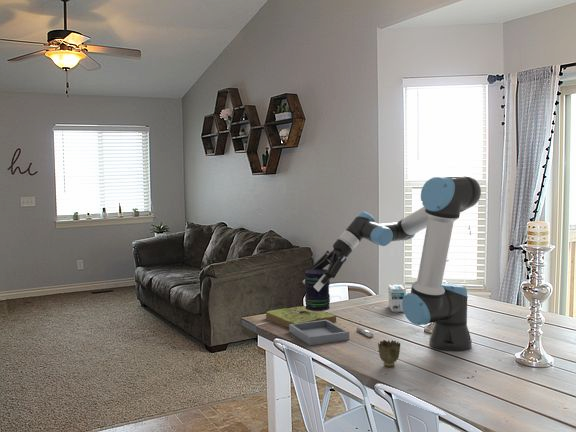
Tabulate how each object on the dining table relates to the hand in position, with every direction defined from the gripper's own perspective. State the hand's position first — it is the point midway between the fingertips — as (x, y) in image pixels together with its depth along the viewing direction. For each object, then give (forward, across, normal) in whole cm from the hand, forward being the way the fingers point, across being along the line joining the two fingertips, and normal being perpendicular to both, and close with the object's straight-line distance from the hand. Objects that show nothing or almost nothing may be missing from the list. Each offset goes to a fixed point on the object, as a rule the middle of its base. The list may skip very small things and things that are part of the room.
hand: (310, 286), depth 231 cm
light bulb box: (-24, +22, -53) cm, 62 cm away
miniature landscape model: (+11, +24, -19) cm, 32 cm away
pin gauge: (0, -7, -28) cm, 29 cm away
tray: (+12, -1, -16) cm, 20 cm away
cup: (+7, -43, -21) cm, 48 cm away
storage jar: (+4, 0, -9) cm, 10 cm away
